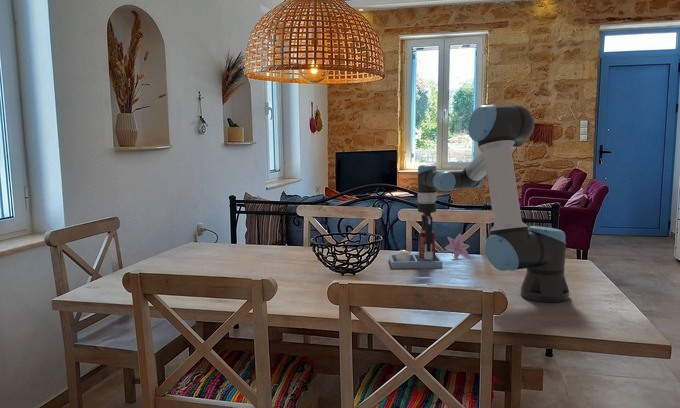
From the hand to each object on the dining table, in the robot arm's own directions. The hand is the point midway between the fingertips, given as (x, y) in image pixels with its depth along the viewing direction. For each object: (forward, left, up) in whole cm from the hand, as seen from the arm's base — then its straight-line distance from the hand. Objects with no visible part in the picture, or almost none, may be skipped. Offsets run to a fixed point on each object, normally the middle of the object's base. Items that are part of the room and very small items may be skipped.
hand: (426, 256), depth 219 cm
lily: (+13, -15, -4) cm, 20 cm away
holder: (0, +5, -3) cm, 6 cm away
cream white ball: (0, +10, -3) cm, 10 cm away
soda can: (0, 0, -1) cm, 1 cm away
